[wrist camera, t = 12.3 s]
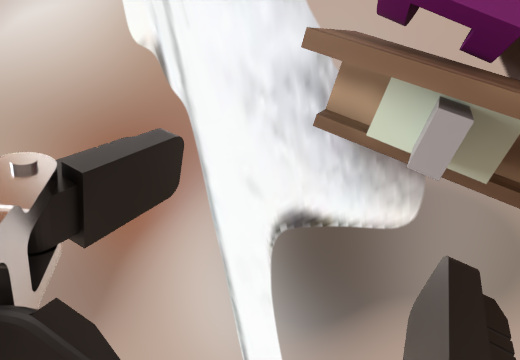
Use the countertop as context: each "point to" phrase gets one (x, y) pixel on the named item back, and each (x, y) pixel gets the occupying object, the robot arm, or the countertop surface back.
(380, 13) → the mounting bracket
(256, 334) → the countertop surface
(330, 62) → the countertop surface
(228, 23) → the countertop surface
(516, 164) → the wooden tablet stand
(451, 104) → the tab block
